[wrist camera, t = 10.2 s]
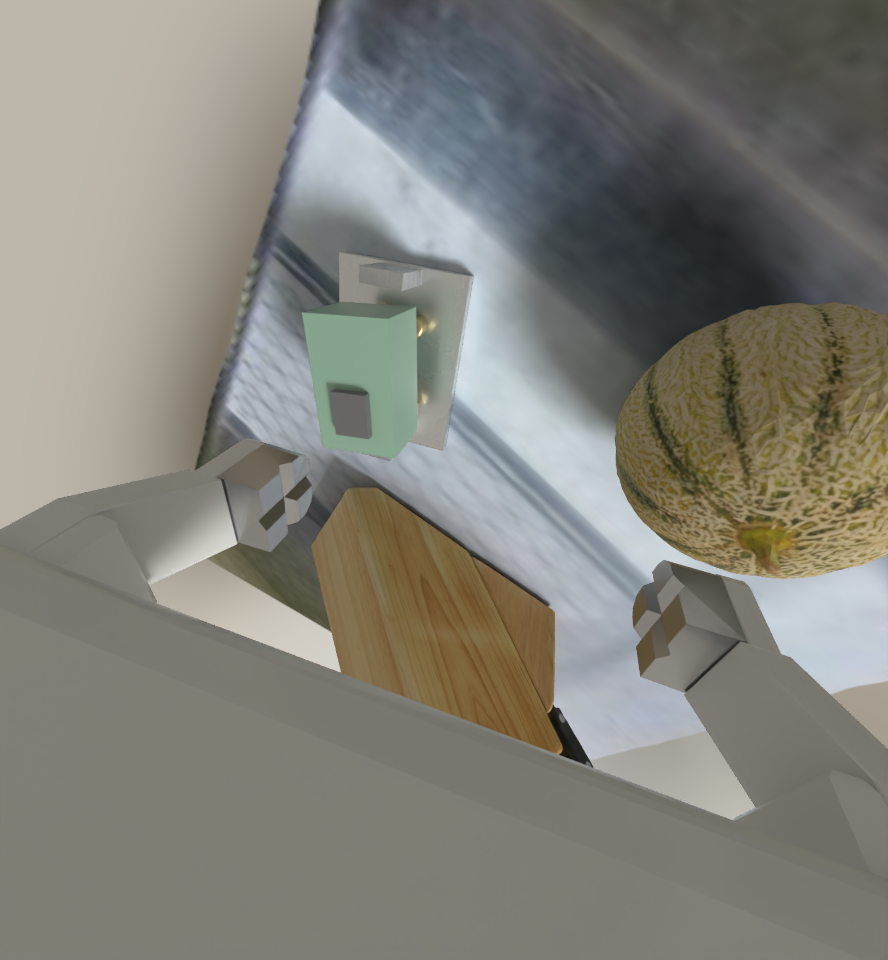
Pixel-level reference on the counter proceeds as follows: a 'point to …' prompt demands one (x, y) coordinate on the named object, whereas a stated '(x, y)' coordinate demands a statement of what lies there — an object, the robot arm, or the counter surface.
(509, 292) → the counter surface
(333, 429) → the green box
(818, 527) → the cantaloupe
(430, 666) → the knife block
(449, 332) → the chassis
